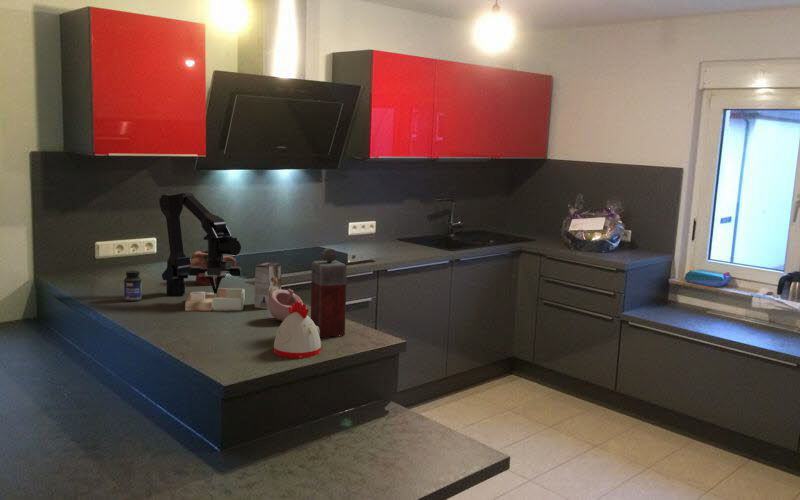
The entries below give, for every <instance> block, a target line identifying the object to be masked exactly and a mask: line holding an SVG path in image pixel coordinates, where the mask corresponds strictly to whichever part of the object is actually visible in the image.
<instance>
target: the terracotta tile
mask: <svg viewBox="0 0 800 500" xmlns="http://www.w3.org/2000/svg"><path fill="white" fill-rule="evenodd" d="M218 289H219V298H226V289H227V287H220V288H218Z"/></svg>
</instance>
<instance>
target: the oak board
mask: <svg viewBox="0 0 800 500" xmlns="http://www.w3.org/2000/svg"><path fill="white" fill-rule="evenodd" d="M192 292H193V291H191V292H190V293H189V295H188V297H187V299H186V300H185V302H184V303H185V304H184V307H185V309H184V310H185V311H186V312H187V311H188V312H189V311H191V312H192V311H198V312H199V311H200V312H202V311H204V312H205V311H210V312H211V311H213V298H216V294H214V292H205V300H204V301H191V294H192Z"/></svg>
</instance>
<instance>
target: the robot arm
mask: <svg viewBox="0 0 800 500" xmlns="http://www.w3.org/2000/svg"><path fill="white" fill-rule="evenodd" d="M158 199H159V200H158V201H159V202H158V203H159V204H158V205H159V207H160V211H161V213H162V214H163V215H164V217H165V219H166V228H167V239H168V245H169V256H168V259H167V262H166V268H165V270H164V271H163V272H162V274H161V278H162V281H166V293H165V296H166V297H178V296H179V297H182V296H184V295H185V294H186V291H187V290H186V288H187V287H186V284H187V283H186V281H185V279H188V278H189V276H193V277H194V276H195V277H196V276H198V275H199V274H200V273H205V278H208V279H209V281H210V283H211V285H210V286H211V288H212V292H213V293H214V294H215V295H216V293H217V290H218V289H219V287H220V283H221V281H222V280H223V279H225V278H226V276H227V274H229V275H230V276H231V277H240V276H242V267H241V266H239V265H238V266H237V265H235V266H233V265H230V268H227V261H226V262H223V255H227V256H237V255H239V254H240V252H241V250H242V245H241V243H240V241H239V240H238V238H237V236H233V235H232V234H231V231H230V229H229V228H228V225H227V223H226V220H224V219H223V218H221V217H220V216H219V215H215V214H213V213H212V212H210V210H208V209H207V208H206V207H205V206H204V205H203V204H202V202H200V201H199V200H198V199H197V198H196V197H195V196H194V194H193V193H192V192H180V193H172V194H171V193H170V194H169V193H167V194H165V193H164V194H162V195H161V196H160V198H158ZM183 207H185V208H186V209H187V210H188V211H189V212H190V213H191V214H192V215H194V216H195V218H196V219H198V221H199V222H200V224H201V228H202V229H203V231H204V232H205V233H206V235H205V236H203V240H205V241H207V250H208V262H207V268H201V266H191V264H190V259H191V258H190V256H187V255H186V254H185V252H184V244H183V236H182V226H181V218H180V217H181V213H182V212H183V209H184V208H183ZM226 273H227V274H226ZM214 275H217V281H216V285H215V278H214Z"/></svg>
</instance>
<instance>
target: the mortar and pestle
mask: <svg viewBox="0 0 800 500" xmlns="http://www.w3.org/2000/svg"><path fill="white" fill-rule="evenodd" d="M295 301H298V304H299V302H301V303H302V305H303V304H304V303H303V300H302V299H301V298H300V296H299V295H297V294H296V293H295V292H294V290H293V289H291V288H288V289H282V288H281V289H277V290H274V291H273V292H272V293H271V294H270V296H269V299H268V309H267V310H268V312H269V314H270V315H271V317H273V318H274V319H276V320H277V321H281V322H283V321H284V319H285V318H286V317H288V316H289V315H290V312H289V307H292V304H295Z"/></svg>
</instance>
